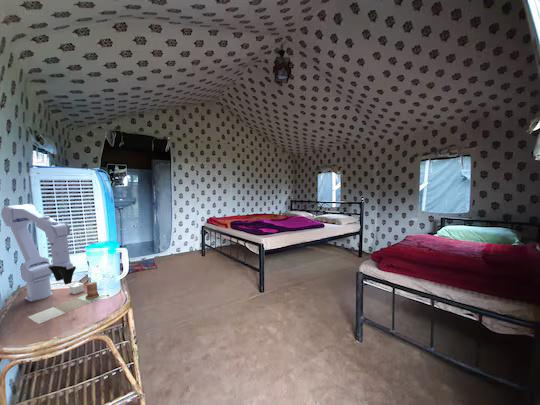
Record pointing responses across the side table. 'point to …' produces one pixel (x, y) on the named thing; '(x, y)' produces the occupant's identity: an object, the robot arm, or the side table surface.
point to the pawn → (92, 290)
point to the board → (62, 309)
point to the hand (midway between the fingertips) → (63, 281)
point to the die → (76, 288)
